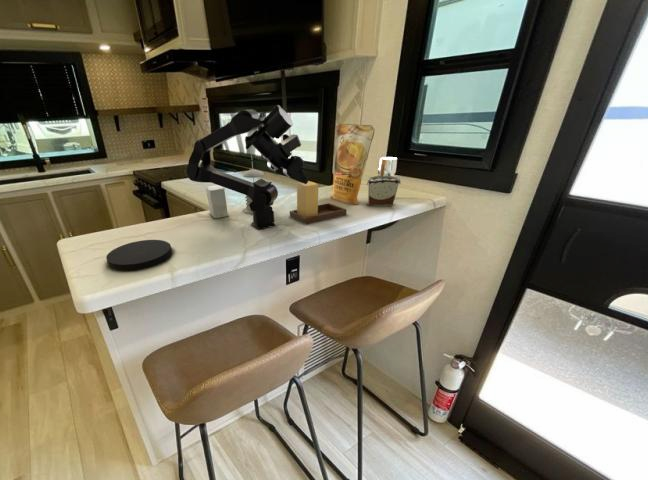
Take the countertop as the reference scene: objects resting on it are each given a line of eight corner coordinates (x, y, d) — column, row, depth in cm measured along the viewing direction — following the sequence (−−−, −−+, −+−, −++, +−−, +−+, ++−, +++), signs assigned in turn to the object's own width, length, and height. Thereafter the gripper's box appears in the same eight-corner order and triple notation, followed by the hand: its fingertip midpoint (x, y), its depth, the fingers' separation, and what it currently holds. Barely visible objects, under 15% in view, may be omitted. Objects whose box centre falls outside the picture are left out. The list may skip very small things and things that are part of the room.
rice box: (305, 221, 109) (305, 186, 103) (297, 217, 114) (296, 183, 107) (317, 218, 111) (318, 183, 104) (308, 214, 115) (309, 181, 109)
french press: (258, 205, 131) (253, 139, 118) (275, 210, 123) (272, 140, 110) (239, 210, 126) (231, 142, 113) (255, 216, 118) (249, 143, 105)
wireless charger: (160, 241, 101) (158, 235, 100) (181, 257, 89) (180, 251, 88) (102, 256, 92) (100, 250, 91) (117, 277, 80) (114, 270, 79)
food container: (393, 200, 126) (397, 174, 120) (397, 205, 121) (401, 178, 115) (362, 201, 127) (365, 176, 122) (364, 205, 122) (367, 179, 117)
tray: (305, 224, 107) (305, 218, 106) (289, 217, 115) (289, 211, 114) (346, 215, 113) (346, 209, 112) (328, 208, 121) (328, 202, 120)
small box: (228, 216, 120) (224, 188, 114) (214, 218, 118) (209, 190, 113) (223, 211, 126) (219, 184, 121) (209, 213, 125) (205, 186, 119)
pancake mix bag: (338, 194, 139) (342, 123, 124) (368, 203, 124) (377, 124, 110) (326, 197, 137) (329, 124, 122) (354, 206, 122) (362, 125, 107)
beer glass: (393, 195, 133) (399, 157, 125) (389, 199, 128) (395, 159, 120) (377, 193, 137) (382, 156, 129) (372, 197, 132) (377, 159, 124)
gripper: (297, 126, 87) (330, 164, 96) (274, 124, 102) (304, 157, 111) (272, 159, 89) (307, 193, 98) (253, 152, 104) (284, 183, 113)
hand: (300, 180), depth 105 cm, fingers open, 9 cm apart
